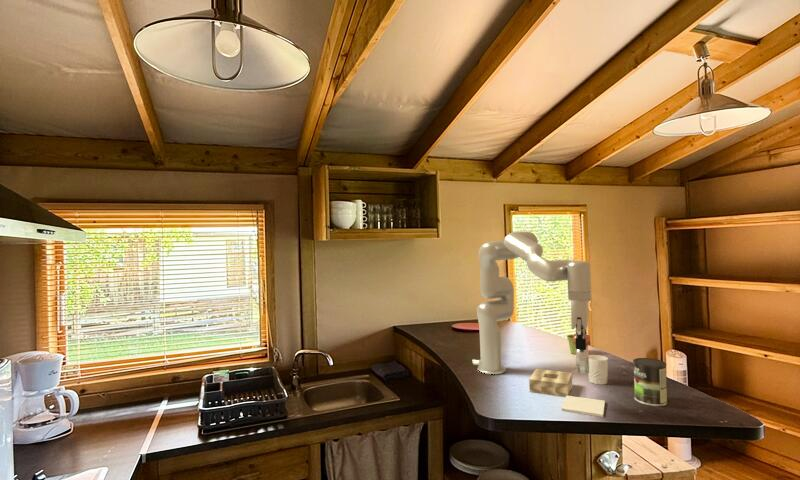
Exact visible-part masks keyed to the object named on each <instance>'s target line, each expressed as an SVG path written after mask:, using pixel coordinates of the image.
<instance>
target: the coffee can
mask: <svg viewBox="0 0 800 480" xmlns="http://www.w3.org/2000/svg"><path fill="white" fill-rule="evenodd" d="M632 363H633V381H634V382H633V385H634V389H633V390H634V391H633V393H634V401H635V402H637V403H639V404H643V405H645V406H651V407H652V406H653V407H664V406H666V405H667V404H668V396H667V395H668V393H667V362H665V361H663V360H660V359H655V358H651V357H650V358H649V357H638V358H634V359H632Z"/></svg>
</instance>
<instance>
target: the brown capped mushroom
mask: <svg viewBox="0 0 800 480" xmlns="http://www.w3.org/2000/svg"><path fill="white" fill-rule="evenodd" d="M572 335H573V344H575V345H576V340H575V338H576V333H574V334H572ZM585 338H586V350H578V349H576V355H575V360H576V362H575V364H576V372H577V373H578V374H583V375H585V374H586V375H587V374H588V373H589V358H588V356H589V346H590V345H591V335H590V334H587V335H586V334H585Z"/></svg>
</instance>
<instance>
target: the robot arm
mask: <svg viewBox="0 0 800 480" xmlns="http://www.w3.org/2000/svg"><path fill="white" fill-rule="evenodd" d="M543 249H544V248H543V247H542V245H541V244H539V242H538V238H537V236H536V235H535V234H534V233H533V232H531V231H513V232H510V233H508V234H507V235H506V236H504V239H503V240H494V241H487V242H485V243H483V244H482V245H481V246H480V248H479V250H478V255H477V257H478V262H479V271H480V272H479V292H480V295H481V297H483V298H484V299H487V300H488V299H491V300H488V301H483V302H481V303H480V304H478V306H477V307H476V318H477V321H478V328H479V329H478V330H479V349H480V350H479V351H480V359H476V358H475V359H474V358H472V360H471V361H472V362H471V363H472V365H474V366H477V371H478V370H479V371H480V372H479V371H478V372H479V373H481V372H482V373H481V374H484V373H485V374H484V375H491V374H493V375H494V374H495V375H502V374H504V373H506V370H507V368H506V367H505V366H504V365H503V359H502V358H503V357H502V356H503V354H502V353H503V352H502V334H501V329H500V327H499V325H498V322H502V321H507V320H509V319H511V318H512V317H513V315H514V306H515V305H514V299H515V298H514V296H515V293H514V292H515V291H514V290H515V289H514V283H513V282H512V280H511V279H510V278H509V277H506V276H500V267H499V265H498V263H497V261H503V260H504V261H505V260H514V259H518V258H520V259H522V260H524V261H525V262H526V265H527V267H528V269H529V271H530V272H531V273H532V274H534V275H535V276H536V277H538V278H540V280H543V281H546V282H549V283H550V282H551V283H552V282H559V281H560V282H561V281H567V295H568V296H567V297H568V301H570V302H571V304H570V323H571V324H570V328H571V330H574V329H575V334H576V338H575V340H576V349H578V350H586V338H585V334H586V335H588V332H587V329H588V326H589V302H591V301H592V284H591V283H592V280H591V279H592V278H591V264H590V263H589V262H588V261H585V260H570V259H555V260H548V259H545V258H544V257H542V256H543V254H544V253H543V252H544V250H543ZM492 299H496V300H492Z"/></svg>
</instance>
